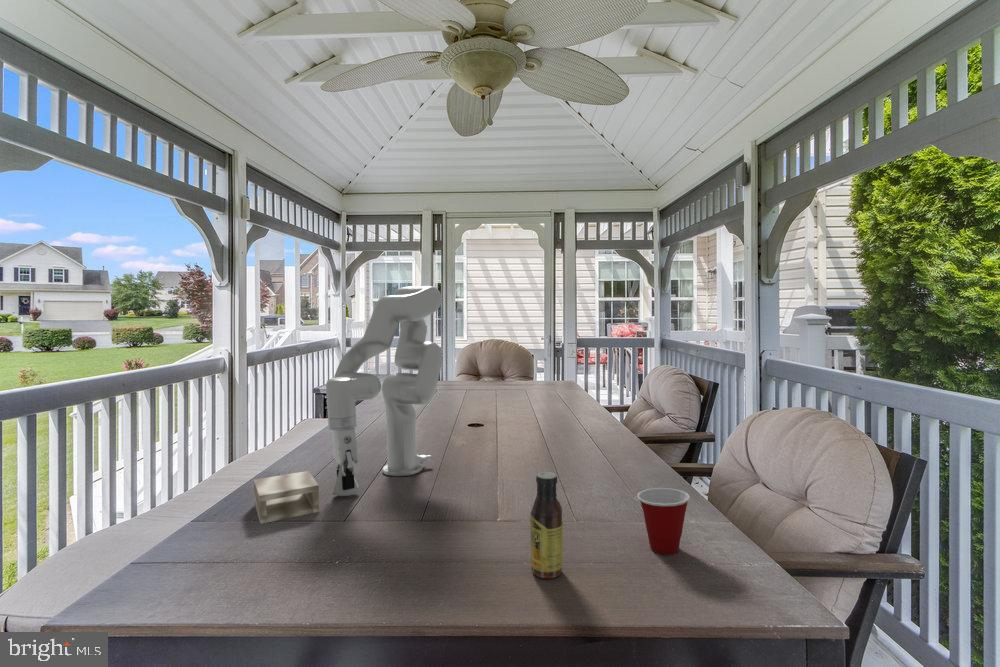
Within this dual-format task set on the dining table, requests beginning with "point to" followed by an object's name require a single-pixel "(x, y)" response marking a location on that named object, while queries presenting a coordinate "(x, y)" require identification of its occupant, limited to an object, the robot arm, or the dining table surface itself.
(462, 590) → the dining table surface
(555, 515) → the sauce bottle
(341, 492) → the flask
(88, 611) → the dining table surface
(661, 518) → the plastic cup
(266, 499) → the grooved beige box
